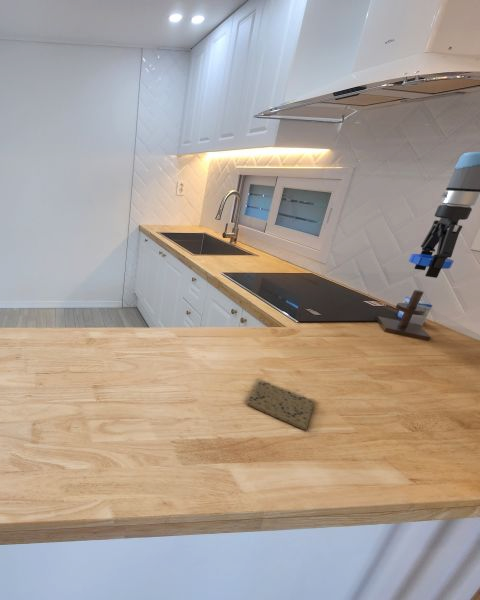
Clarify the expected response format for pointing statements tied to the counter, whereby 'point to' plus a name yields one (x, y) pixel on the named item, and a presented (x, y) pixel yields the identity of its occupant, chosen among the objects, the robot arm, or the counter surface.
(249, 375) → the counter surface
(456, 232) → the robot arm
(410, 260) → the blue plastic ring
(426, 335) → the stand
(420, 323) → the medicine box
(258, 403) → the cookie
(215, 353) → the counter surface
